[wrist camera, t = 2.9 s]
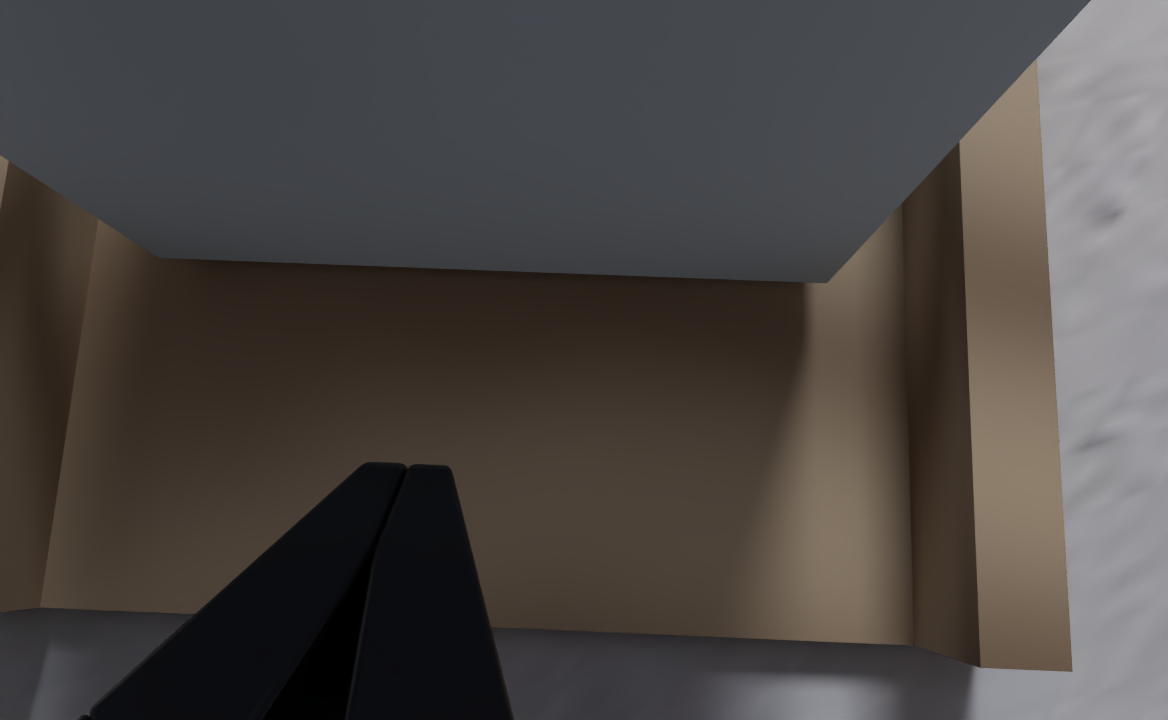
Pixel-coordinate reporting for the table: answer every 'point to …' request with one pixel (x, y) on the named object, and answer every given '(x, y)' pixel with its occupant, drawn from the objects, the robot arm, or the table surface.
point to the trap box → (567, 423)
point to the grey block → (506, 125)
